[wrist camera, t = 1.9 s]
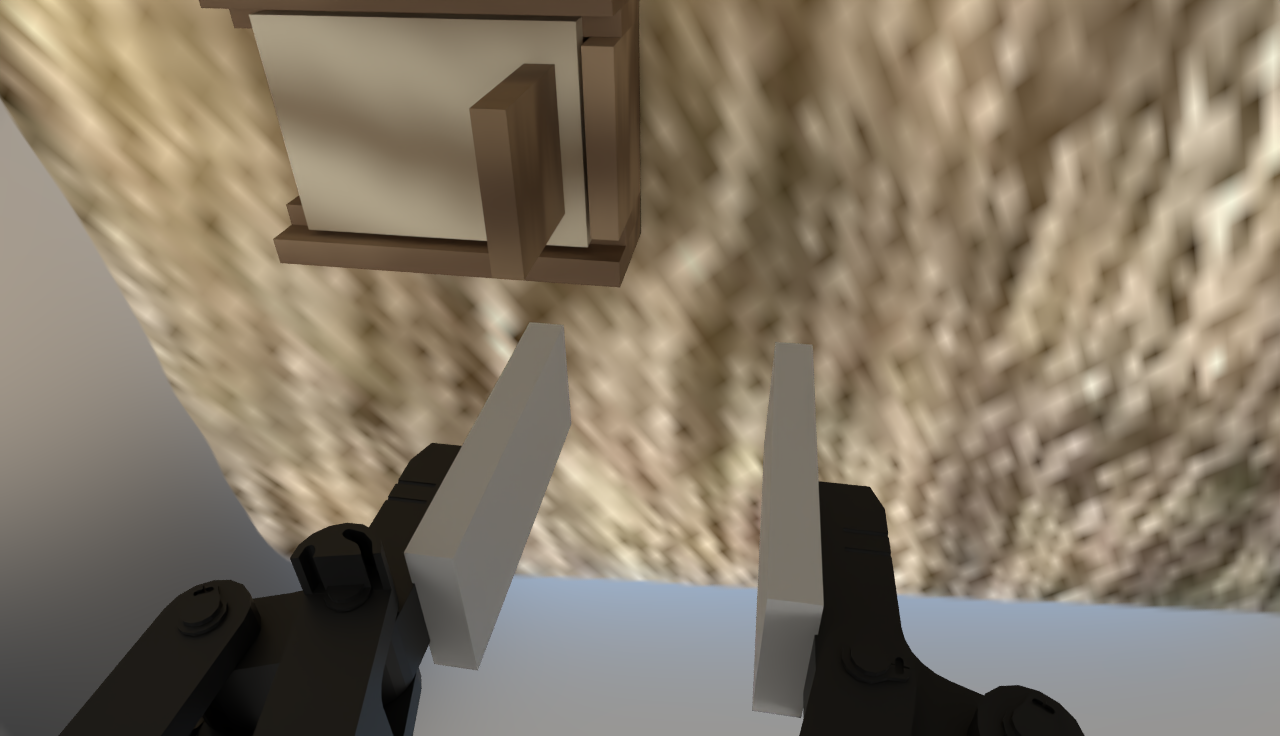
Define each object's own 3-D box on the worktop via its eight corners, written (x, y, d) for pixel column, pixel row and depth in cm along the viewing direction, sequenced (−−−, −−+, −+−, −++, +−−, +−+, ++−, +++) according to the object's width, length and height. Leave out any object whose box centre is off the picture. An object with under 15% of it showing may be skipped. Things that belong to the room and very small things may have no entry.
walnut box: (273, -46, 33) (190, -27, 28) (638, -42, 30) (611, -22, 26) (339, 214, 39) (280, 262, 35) (641, 233, 37) (620, 287, 33)
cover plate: (263, 9, 30) (140, 48, 24) (581, 16, 28) (529, 59, 23) (319, 220, 35) (229, 293, 30) (592, 237, 33) (551, 318, 28)
